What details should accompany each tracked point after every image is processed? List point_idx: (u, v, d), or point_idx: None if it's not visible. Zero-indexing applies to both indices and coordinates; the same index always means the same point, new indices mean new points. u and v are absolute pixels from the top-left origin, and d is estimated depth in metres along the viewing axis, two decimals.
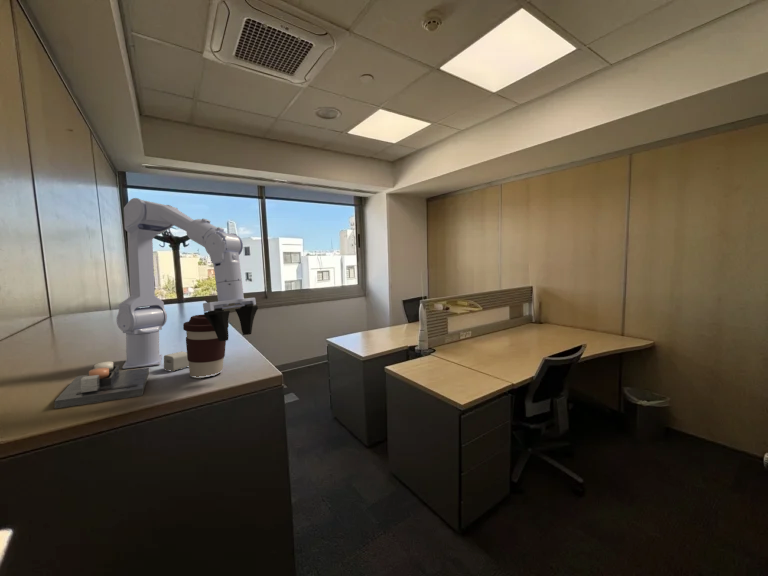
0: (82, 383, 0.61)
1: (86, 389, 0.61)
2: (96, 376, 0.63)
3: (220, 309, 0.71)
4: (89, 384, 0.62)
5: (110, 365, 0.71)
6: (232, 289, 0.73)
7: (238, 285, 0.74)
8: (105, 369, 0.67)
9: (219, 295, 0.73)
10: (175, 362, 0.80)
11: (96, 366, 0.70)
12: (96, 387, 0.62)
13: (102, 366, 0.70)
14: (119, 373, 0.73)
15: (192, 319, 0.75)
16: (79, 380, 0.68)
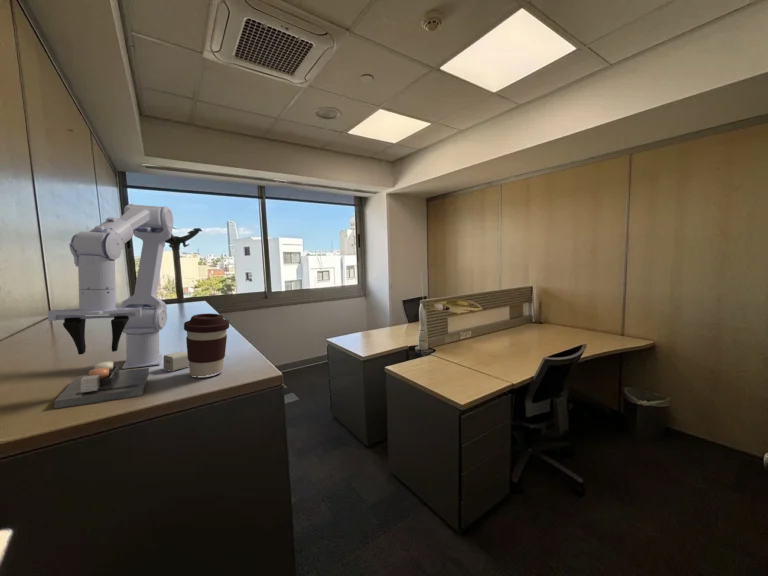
0: (82, 383, 0.61)
1: (86, 389, 0.61)
2: (96, 376, 0.63)
3: (67, 320, 0.63)
4: (89, 384, 0.62)
5: (110, 365, 0.71)
6: (84, 299, 0.63)
7: (93, 295, 0.63)
8: (105, 369, 0.67)
9: None
10: (175, 362, 0.80)
11: (96, 366, 0.70)
12: (96, 387, 0.62)
13: (102, 366, 0.70)
14: (119, 373, 0.73)
15: (193, 319, 0.75)
16: (79, 380, 0.68)
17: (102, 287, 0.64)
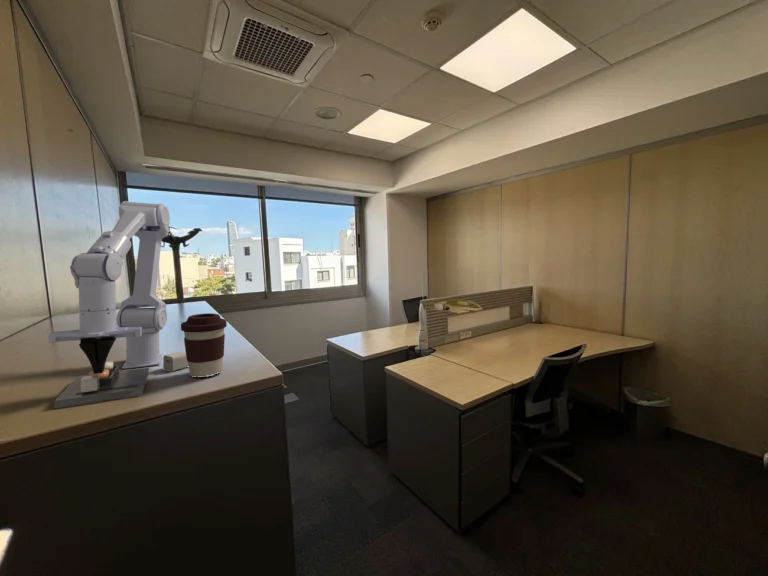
0: (82, 383, 0.61)
1: (86, 389, 0.61)
2: (96, 376, 0.63)
3: None
4: (89, 384, 0.62)
5: (110, 365, 0.71)
6: (84, 321, 0.63)
7: (94, 316, 0.64)
8: (105, 371, 0.67)
9: None
10: (175, 362, 0.80)
11: None
12: (96, 387, 0.62)
13: None
14: (119, 373, 0.73)
15: (190, 319, 0.75)
16: (79, 380, 0.68)
17: (102, 308, 0.65)
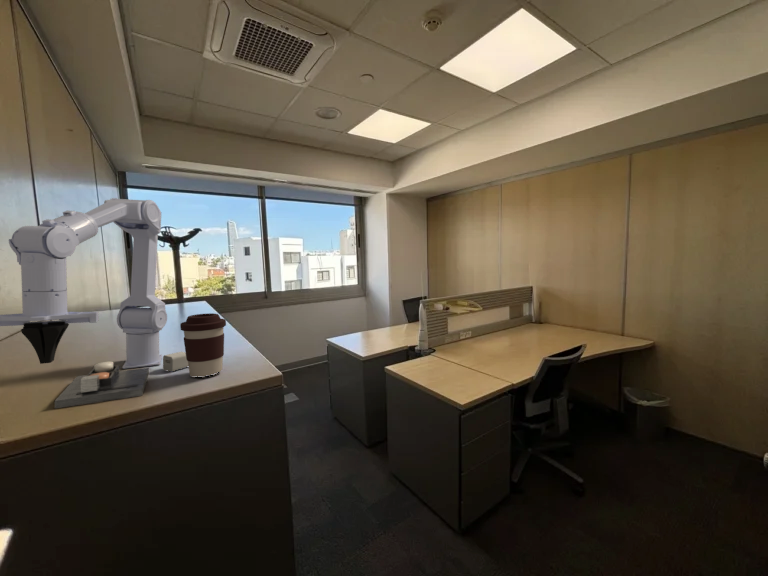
0: (82, 383, 0.61)
1: (86, 389, 0.61)
2: (96, 376, 0.63)
3: None
4: (89, 384, 0.62)
5: (110, 365, 0.71)
6: (27, 303, 0.55)
7: (38, 298, 0.56)
8: (105, 374, 0.67)
9: None
10: (175, 362, 0.80)
11: (96, 366, 0.70)
12: (96, 387, 0.62)
13: (102, 366, 0.70)
14: (119, 373, 0.73)
15: (190, 319, 0.75)
16: (79, 380, 0.68)
17: (45, 289, 0.56)
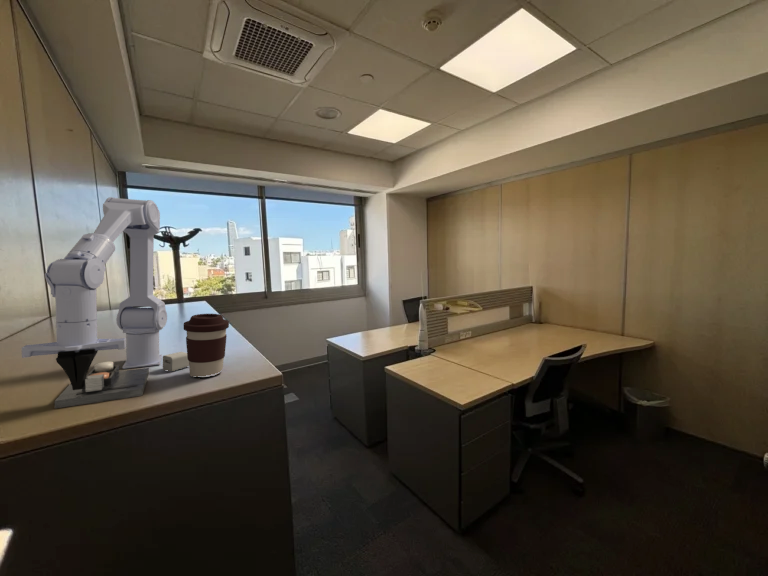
0: (87, 382, 0.61)
1: (91, 388, 0.62)
2: (101, 375, 0.63)
3: None
4: (93, 383, 0.62)
5: (110, 365, 0.71)
6: (61, 333, 0.58)
7: (72, 328, 0.58)
8: (105, 374, 0.67)
9: None
10: (174, 362, 0.80)
11: (96, 366, 0.70)
12: (101, 386, 0.63)
13: (102, 366, 0.70)
14: (119, 373, 0.73)
15: (194, 319, 0.75)
16: None
17: (81, 319, 0.59)
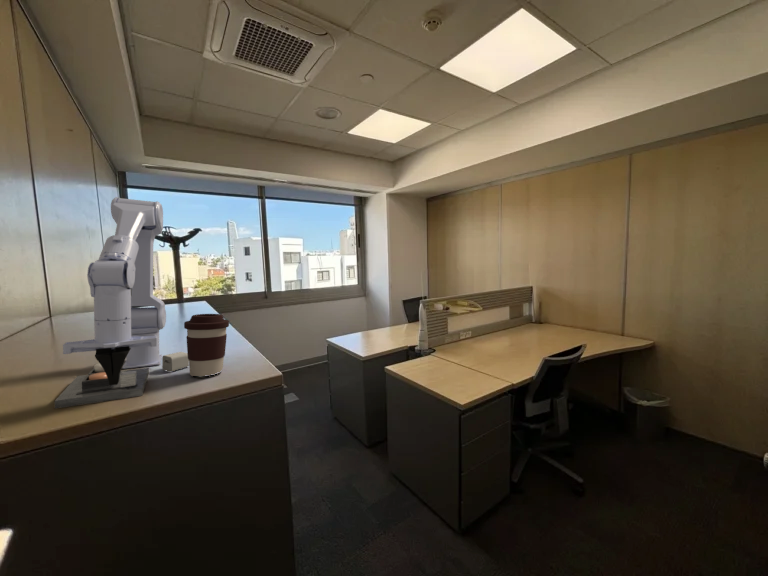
0: (122, 378, 0.64)
1: (125, 384, 0.65)
2: (134, 372, 0.66)
3: None
4: (128, 379, 0.65)
5: None
6: (99, 331, 0.61)
7: (109, 326, 0.61)
8: (105, 374, 0.67)
9: None
10: (174, 362, 0.80)
11: (96, 366, 0.70)
12: (134, 382, 0.66)
13: None
14: None
15: (195, 318, 0.76)
16: (79, 380, 0.68)
17: (122, 317, 0.63)
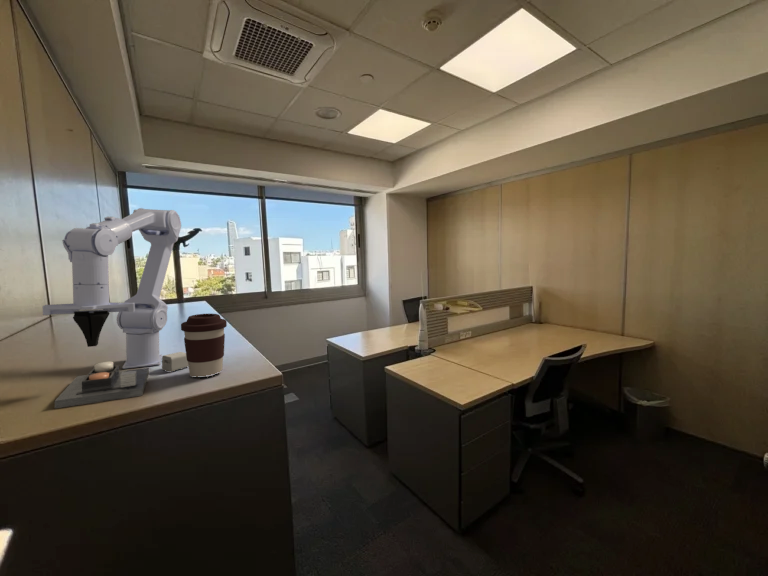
0: (122, 378, 0.64)
1: (125, 384, 0.65)
2: (134, 372, 0.66)
3: None
4: (128, 379, 0.65)
5: (110, 365, 0.71)
6: (78, 294, 0.65)
7: (87, 290, 0.65)
8: (105, 374, 0.67)
9: None
10: (174, 362, 0.80)
11: (96, 366, 0.70)
12: (134, 382, 0.66)
13: (102, 366, 0.70)
14: (119, 373, 0.73)
15: (192, 320, 0.74)
16: (79, 380, 0.68)
17: (93, 282, 0.66)
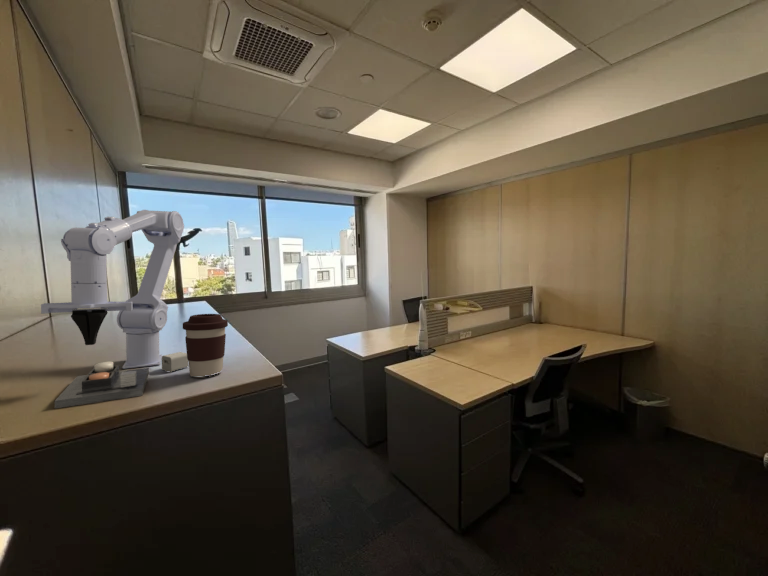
0: (122, 378, 0.64)
1: (125, 384, 0.65)
2: (134, 372, 0.66)
3: (60, 312, 0.65)
4: (128, 379, 0.65)
5: (110, 365, 0.71)
6: (76, 293, 0.65)
7: (85, 289, 0.66)
8: (105, 374, 0.67)
9: None
10: (173, 362, 0.80)
11: (96, 366, 0.70)
12: (134, 382, 0.66)
13: (102, 366, 0.70)
14: (119, 373, 0.73)
15: (194, 318, 0.75)
16: (79, 380, 0.68)
17: (90, 281, 0.66)
